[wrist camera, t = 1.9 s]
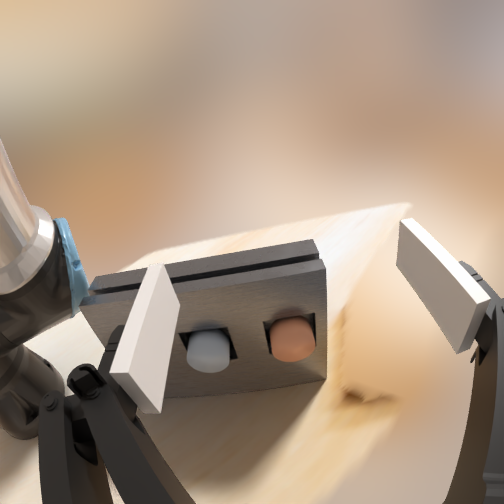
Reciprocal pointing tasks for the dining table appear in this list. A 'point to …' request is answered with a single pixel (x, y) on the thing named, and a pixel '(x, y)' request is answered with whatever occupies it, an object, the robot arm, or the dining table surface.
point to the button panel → (229, 315)
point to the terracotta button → (291, 338)
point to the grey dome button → (208, 350)
